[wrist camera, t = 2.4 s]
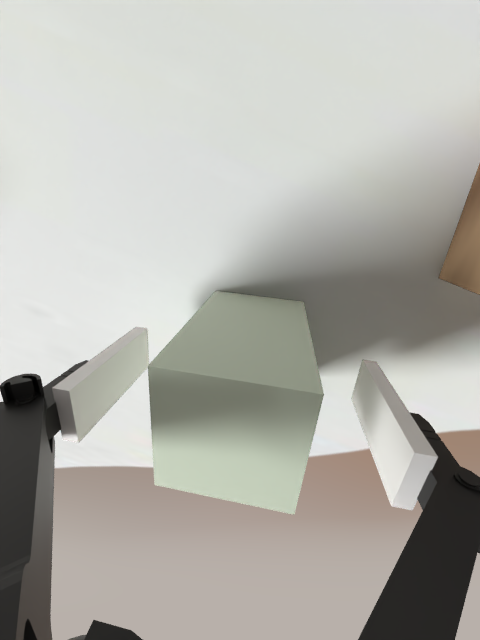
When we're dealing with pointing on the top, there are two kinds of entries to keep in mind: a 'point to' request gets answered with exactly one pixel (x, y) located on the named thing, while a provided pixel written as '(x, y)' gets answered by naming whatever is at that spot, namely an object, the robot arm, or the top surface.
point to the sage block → (237, 402)
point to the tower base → (466, 245)
